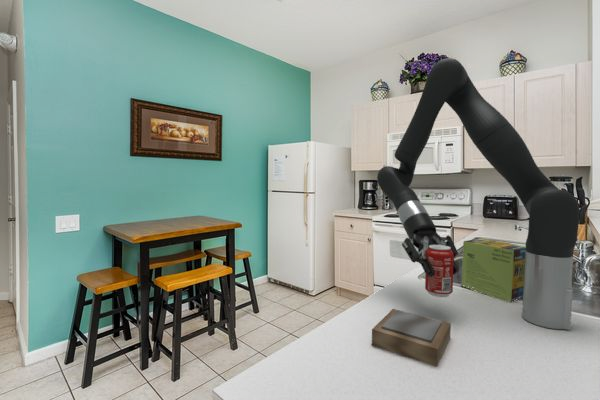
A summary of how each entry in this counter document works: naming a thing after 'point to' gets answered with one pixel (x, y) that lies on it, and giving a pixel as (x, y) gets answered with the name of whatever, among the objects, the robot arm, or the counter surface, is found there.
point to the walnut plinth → (412, 336)
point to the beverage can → (440, 271)
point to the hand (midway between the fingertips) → (444, 274)
